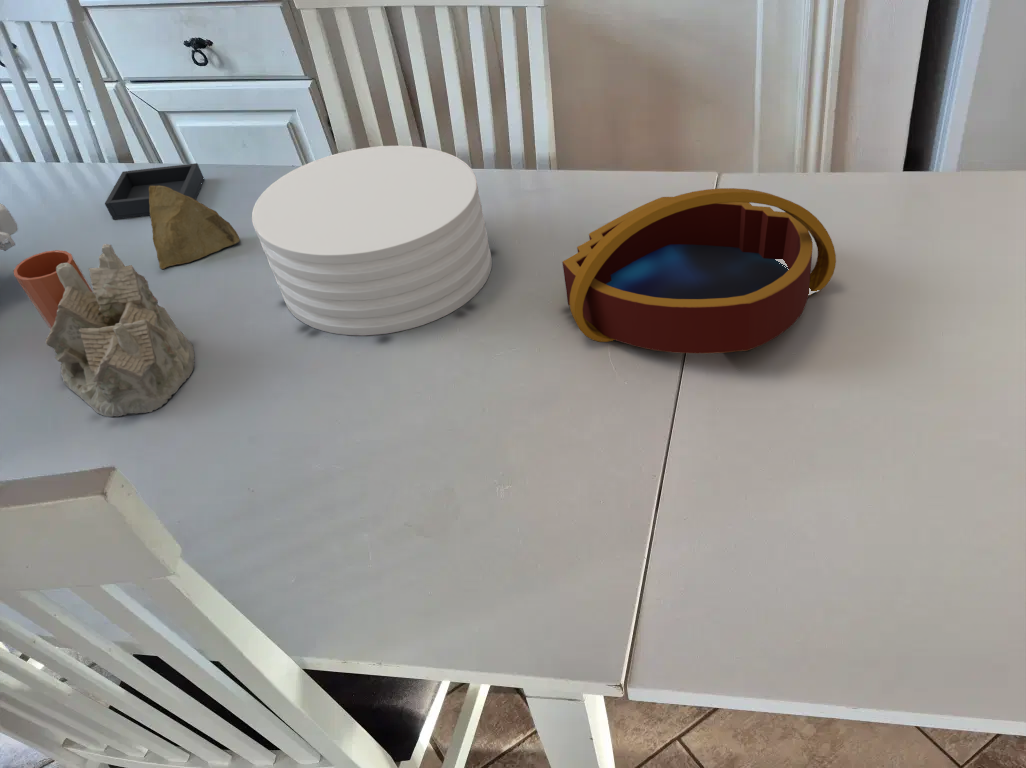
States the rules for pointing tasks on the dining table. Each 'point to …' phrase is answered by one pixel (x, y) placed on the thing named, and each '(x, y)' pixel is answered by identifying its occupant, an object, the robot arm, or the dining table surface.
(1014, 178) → the dining table surface
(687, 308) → the decorative basket
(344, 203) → the plate stack
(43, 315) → the cup
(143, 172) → the tray
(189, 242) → the rock
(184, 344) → the ceramic cottage
